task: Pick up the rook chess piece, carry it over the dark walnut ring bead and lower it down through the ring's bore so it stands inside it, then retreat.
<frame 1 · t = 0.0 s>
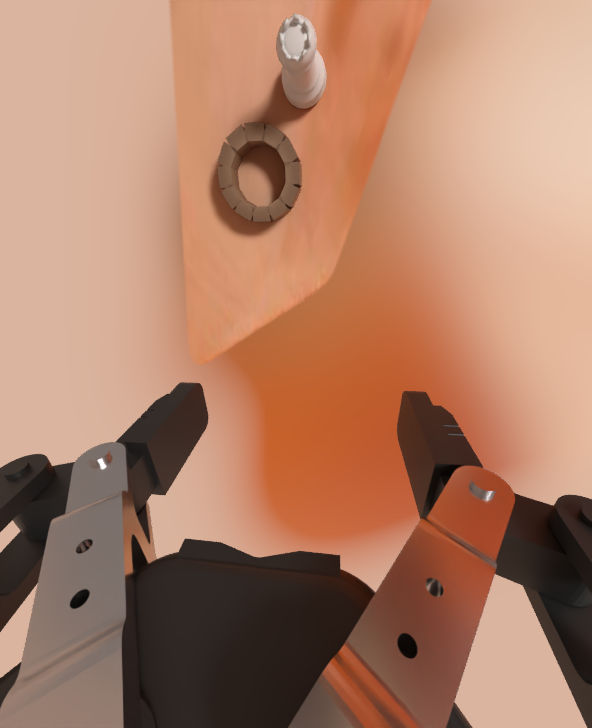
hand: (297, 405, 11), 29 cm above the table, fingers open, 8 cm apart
walnut ring bead: (263, 178, 33), on the table
rook chess piece: (304, 82, 29), on the table
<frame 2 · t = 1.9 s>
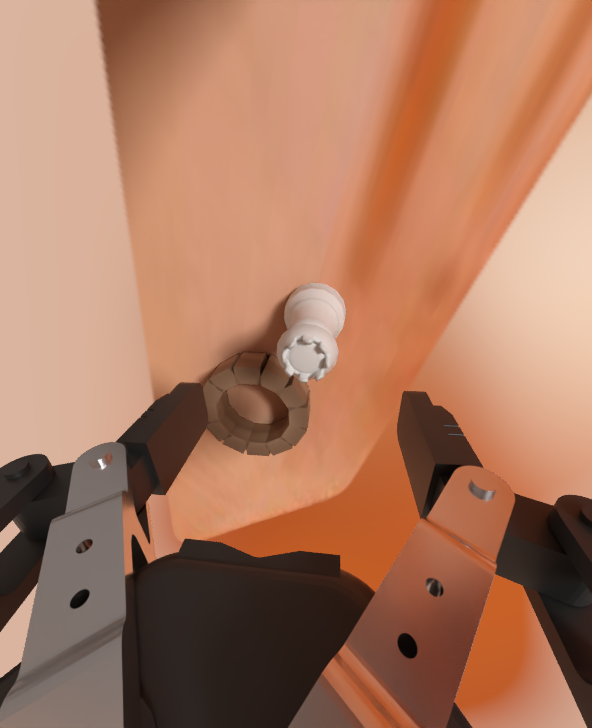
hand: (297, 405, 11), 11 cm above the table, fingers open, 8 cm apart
walnut ring bead: (259, 397, 25), on the table
rook chess piece: (315, 310, 21), on the table
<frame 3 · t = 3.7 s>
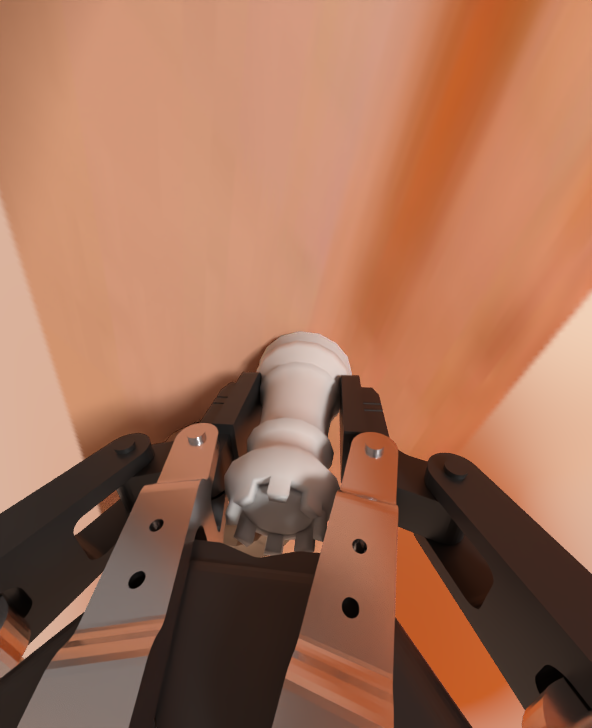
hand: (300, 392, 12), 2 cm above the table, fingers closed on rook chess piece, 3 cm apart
walnut ring bead: (229, 477, 18), on the table
rook chess piece: (305, 368, 14), on the table, touching gripper
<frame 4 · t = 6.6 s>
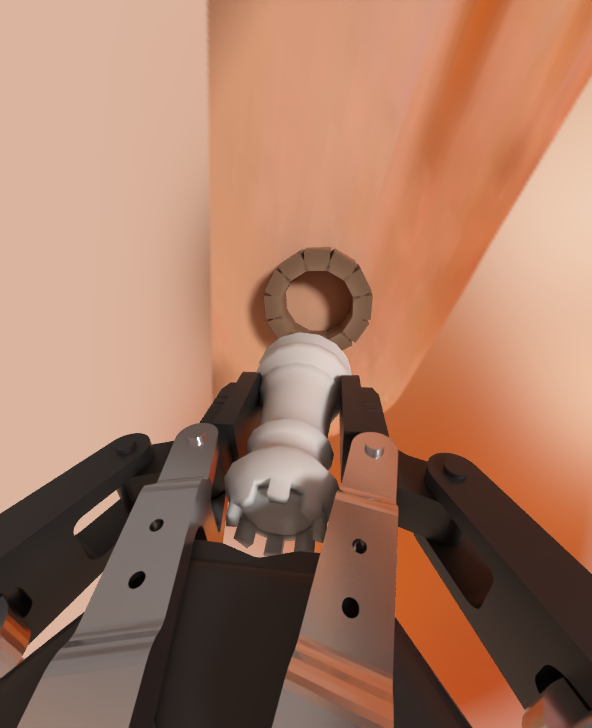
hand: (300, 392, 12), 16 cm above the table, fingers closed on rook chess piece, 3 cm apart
walnut ring bead: (318, 300, 26), on the table
rook chess piece: (305, 369, 14), point 14 cm above the table, touching gripper
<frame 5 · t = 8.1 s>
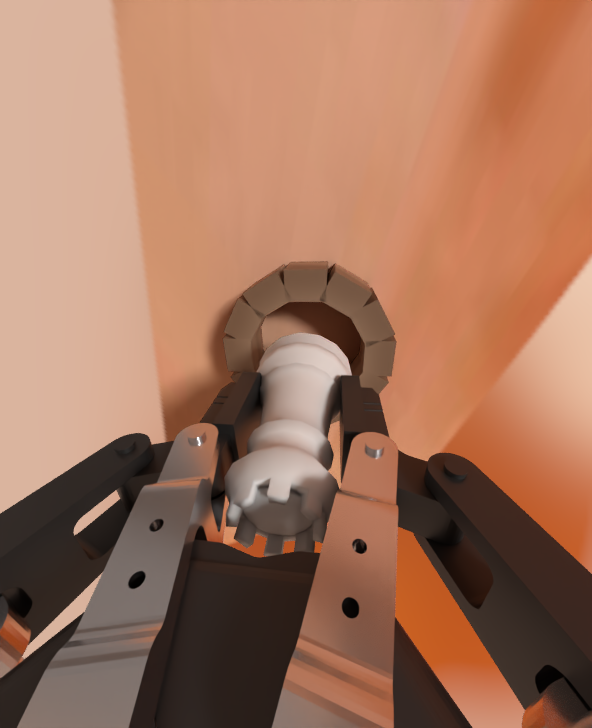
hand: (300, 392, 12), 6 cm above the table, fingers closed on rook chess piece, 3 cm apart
walnut ring bead: (310, 339, 17), on the table
rook chess piece: (305, 369, 14), point 4 cm above the table, touching gripper
when the fingers open (3 cm above the table, at t = 9.4 s): rook chess piece drops 1 cm, resting in walnut ring bead.
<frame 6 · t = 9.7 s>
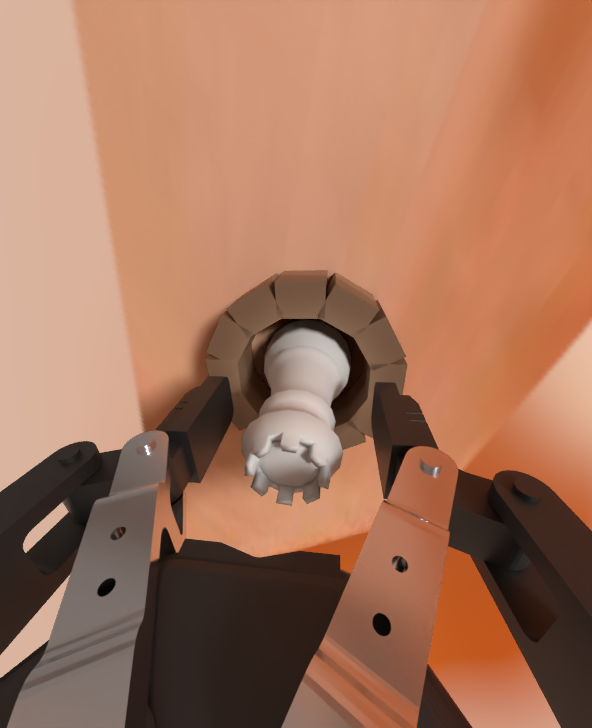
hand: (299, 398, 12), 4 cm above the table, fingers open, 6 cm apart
walnut ring bead: (307, 357, 15), on the table
rook chess piece: (308, 354, 15), resting in walnut ring bead
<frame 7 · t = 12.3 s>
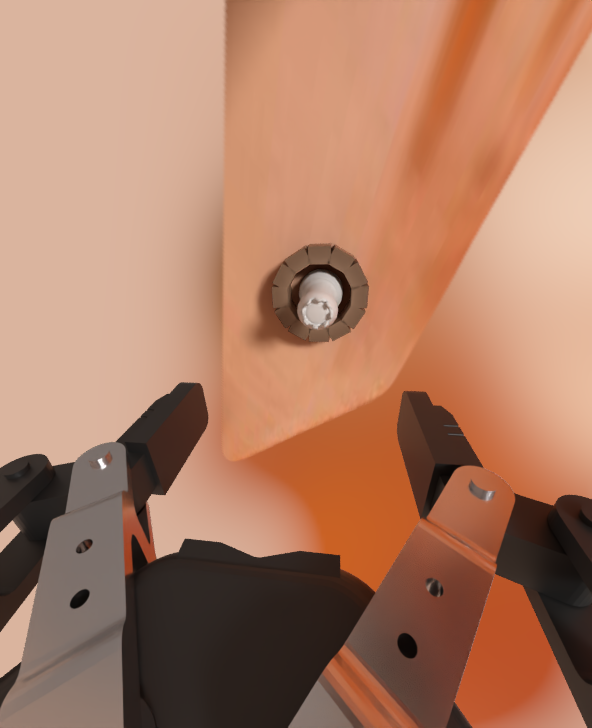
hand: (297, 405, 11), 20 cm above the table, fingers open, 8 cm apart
walnut ring bead: (320, 291, 29), on the table
rook chess piece: (321, 290, 29), resting in walnut ring bead
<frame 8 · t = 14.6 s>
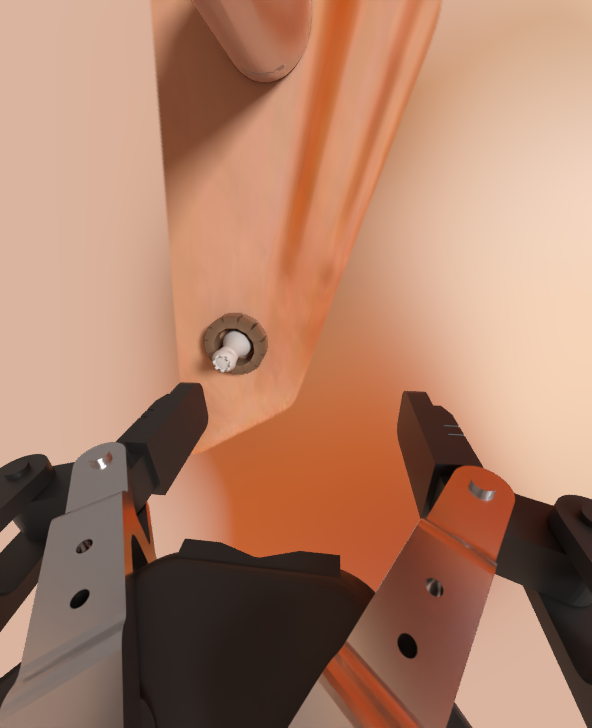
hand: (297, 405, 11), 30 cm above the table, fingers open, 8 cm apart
walnut ring bead: (239, 341, 44), on the table
rook chess piece: (240, 340, 44), resting in walnut ring bead
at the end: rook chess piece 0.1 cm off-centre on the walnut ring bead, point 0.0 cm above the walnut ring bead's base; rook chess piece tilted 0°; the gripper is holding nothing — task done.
